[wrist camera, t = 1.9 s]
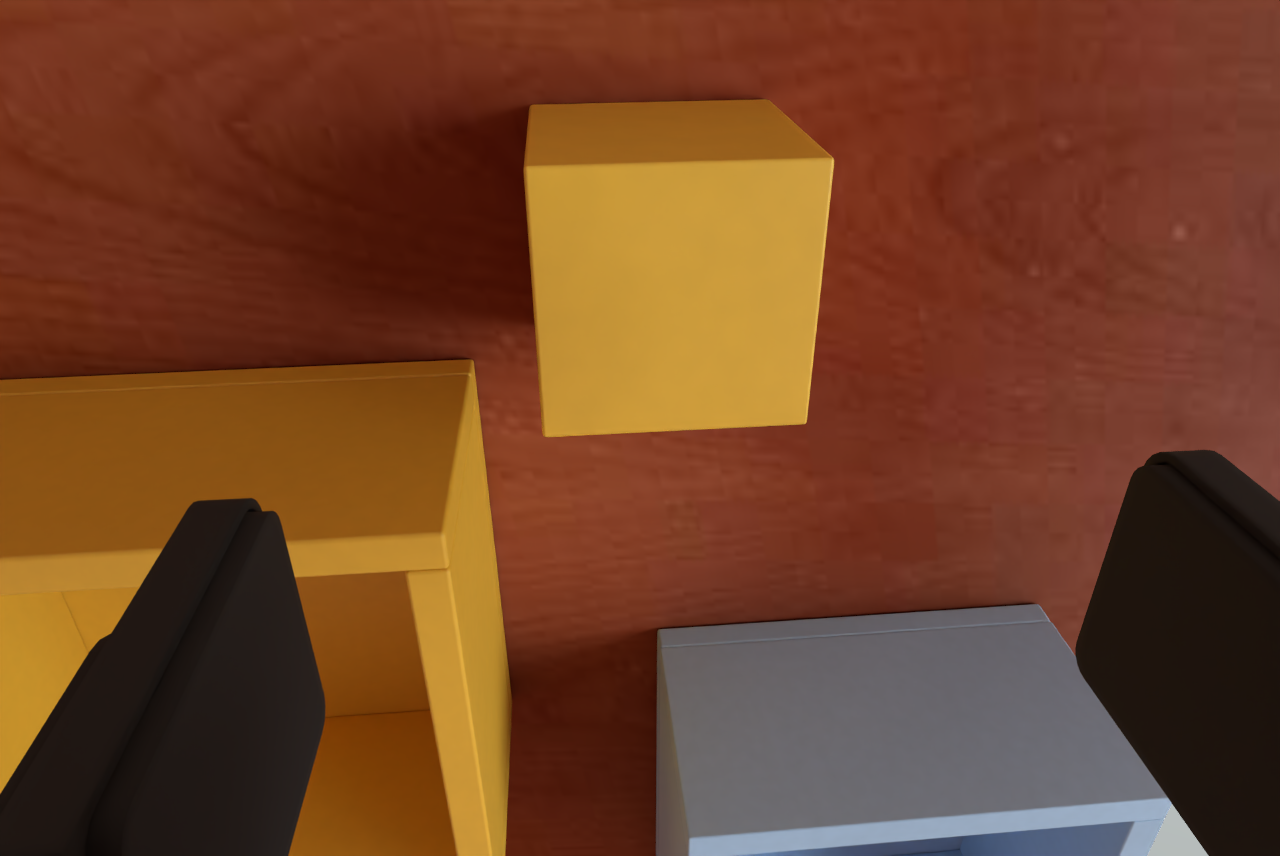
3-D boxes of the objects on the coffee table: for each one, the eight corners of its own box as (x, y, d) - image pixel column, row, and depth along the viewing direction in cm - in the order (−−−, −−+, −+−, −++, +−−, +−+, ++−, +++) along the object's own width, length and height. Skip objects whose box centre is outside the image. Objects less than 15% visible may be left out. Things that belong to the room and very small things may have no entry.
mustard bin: (-43, 380, 20) (-284, 575, 14) (473, 357, 21) (444, 534, 15) (115, 729, 26) (-10, 968, 20) (512, 701, 27) (502, 922, 21)
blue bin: (656, 628, 26) (688, 839, 20) (1039, 602, 27) (1175, 798, 21) (655, 867, 32) (679, 1083, 26) (967, 840, 33) (1058, 1044, 27)
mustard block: (529, 103, 18) (523, 166, 14) (769, 98, 18) (836, 157, 14) (543, 327, 21) (542, 439, 16) (754, 319, 21) (807, 425, 17)
